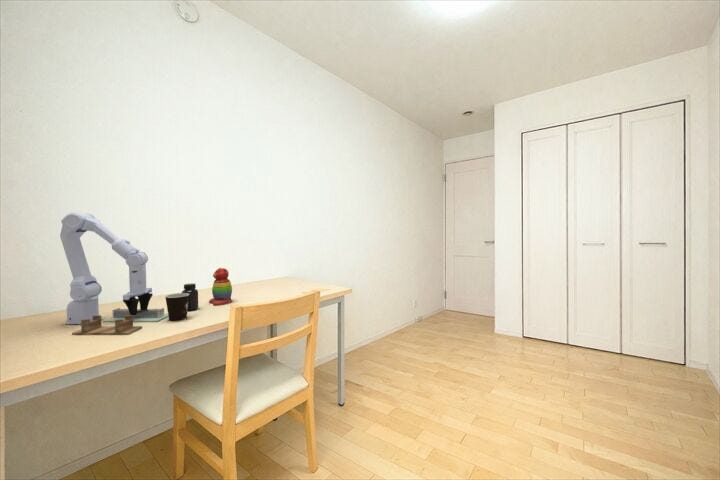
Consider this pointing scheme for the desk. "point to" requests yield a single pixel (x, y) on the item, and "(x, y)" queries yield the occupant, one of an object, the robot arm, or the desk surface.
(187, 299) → the coffee mug
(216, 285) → the stacking bear
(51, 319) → the desk surface
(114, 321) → the mat
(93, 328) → the stand
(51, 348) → the desk surface
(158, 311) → the rail
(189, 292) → the supplement bottle
